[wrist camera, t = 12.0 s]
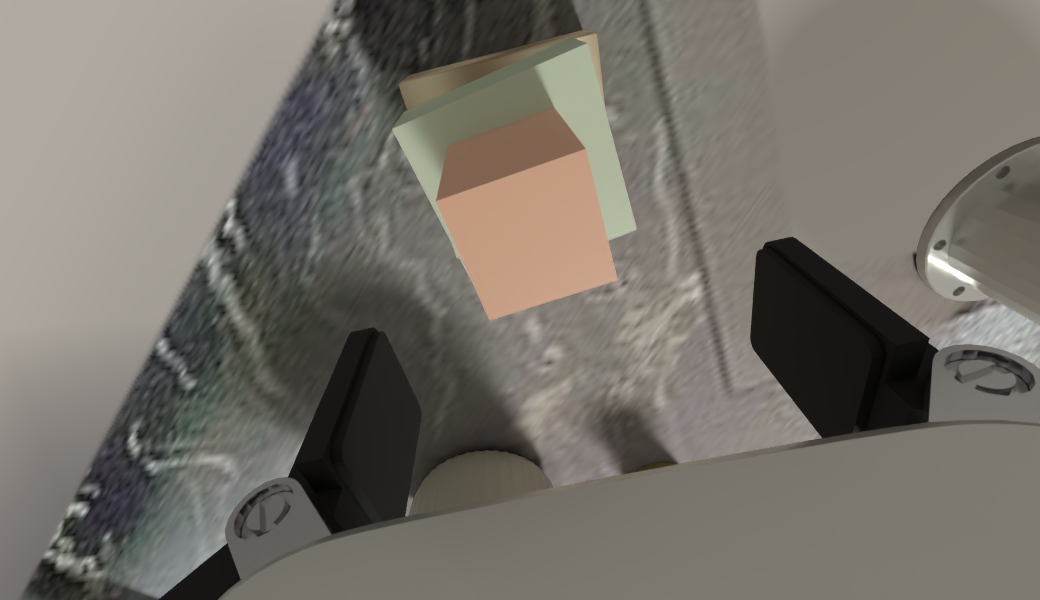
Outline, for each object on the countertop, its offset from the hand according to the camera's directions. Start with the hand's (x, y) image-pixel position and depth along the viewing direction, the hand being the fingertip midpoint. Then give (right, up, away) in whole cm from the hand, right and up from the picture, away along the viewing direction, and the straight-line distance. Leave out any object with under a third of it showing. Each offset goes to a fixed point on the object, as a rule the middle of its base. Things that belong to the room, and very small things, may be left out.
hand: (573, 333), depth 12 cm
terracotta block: (-1, +7, +10) cm, 12 cm away
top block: (-1, +9, +14) cm, 16 cm away
